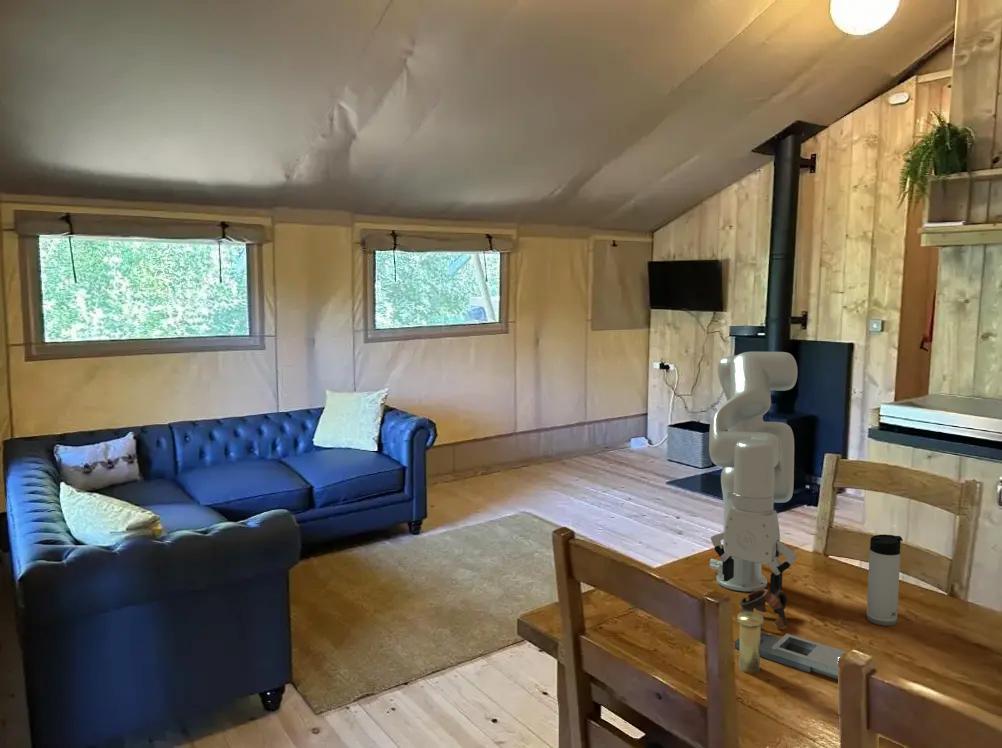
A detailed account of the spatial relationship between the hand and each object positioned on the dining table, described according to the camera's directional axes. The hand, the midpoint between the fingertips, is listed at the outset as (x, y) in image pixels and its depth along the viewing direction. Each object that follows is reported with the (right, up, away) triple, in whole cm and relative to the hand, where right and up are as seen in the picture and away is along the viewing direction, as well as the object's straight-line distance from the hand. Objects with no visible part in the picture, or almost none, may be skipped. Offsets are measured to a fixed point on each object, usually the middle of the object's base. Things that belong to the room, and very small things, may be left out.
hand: (751, 585), depth 151 cm
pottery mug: (+12, -15, +24) cm, 30 cm away
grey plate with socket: (+12, -17, +6) cm, 21 cm away
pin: (0, -18, +2) cm, 18 cm away
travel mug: (+38, -15, +22) cm, 46 cm away
